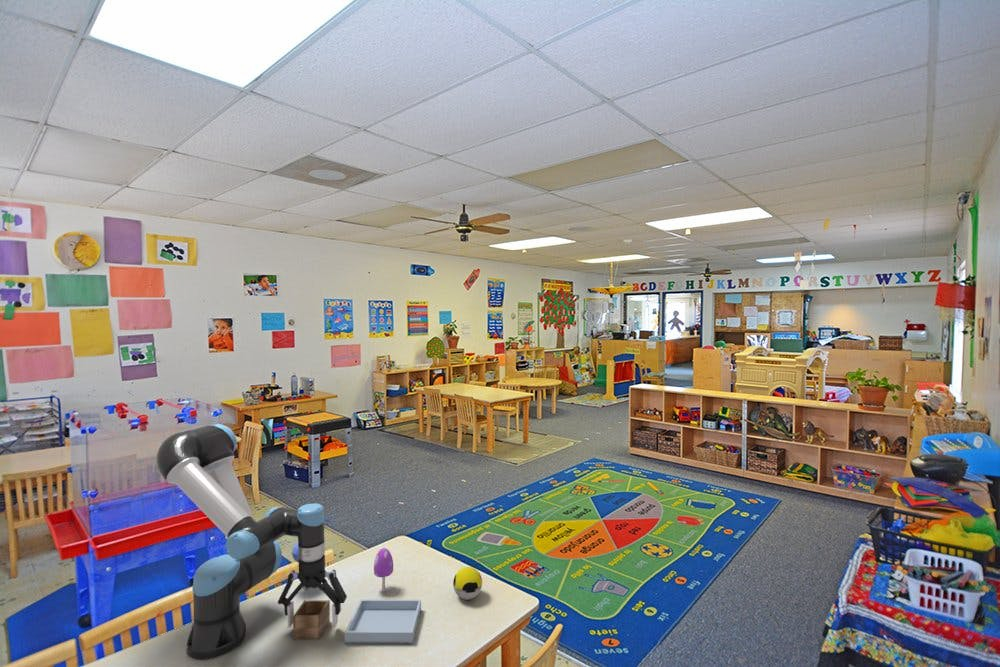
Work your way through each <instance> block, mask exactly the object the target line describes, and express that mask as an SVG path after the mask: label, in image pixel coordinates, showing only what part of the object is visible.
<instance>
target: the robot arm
mask: <svg viewBox="0 0 1000 667" xmlns="http://www.w3.org/2000/svg"><path fill="white" fill-rule="evenodd" d="M237 444H238V441H237V437H236V434H235V433H234V431H233V430H232V429H231V428H230V427H228V426H226V425H224V424H220V423H218V424H217V423H216V424H208V425H205V426H201V427H197V428H193V429H189V430H185V431H179V432H175V433H174V434H172V435H171V434H170V436H168V437H167V438H166V439H165V440H164V441H163V442H162V443H161V445H160V446H159V448H158V450H157V454H156V465H157V469H158V472H159V473H160V476H162V477H163V479H164V480H165V481H166V482H167V483H168V484H170V485H171V484H172V485H173V484H175V485H176V486H177V487H178V488H179V489H180V491H181V492H183V493H184V495H185V496H187V498H189V499H190V501H192V503H193V504H195V506H196V507H197V508H198V509H199V510H201V512H202V513H203V514H204V515H206V517H207V518H208V519H209V520H210V521H211V522H212V523H213V524H214V526H216V527H217V528H218V530H220V532H222V533H223V535H225V536H226V538H227V539H226V542H225V547H226V552H227V553H226V554H222V555H219V556H218V557H217V556H215V557H213V558H210V559H208V560H207V561H205V562H204V563H202V564H200V566H199V567H198V568H197V569H196V571H195V572H194V575H193V580H192V581H193V583H192V595H193V601H192V602H193V603H192V604H193V623H192V626H191V630H190V632H189V635H188V638H187V640H186V654H187V656H188V657H189V658H191V659H194V660H197V661H199V660H201V661H203V660H212V659H215V658H219V657H222V656H224V655H226V654H228V653H230V652H232V651H233V650H234V649H236V648H238V647H239V646H240V645H241V644H242V643H243V642H244V640H245V639H246V636H247V623H246V622H245V620H244V619H245V618H244V617H243V614H242V612H241V609H240V608H241V607H240V603H241V602H240V600H241V599H240V598H241V596H242V595H244V594H245V593H247V592H248V591H250V590H251V589H252V588H254V587H256V586H257V585H259V584H260V583H261V582H263V581H265V580H268V579H269V578H270V577H271V576H272V575H273V574H274V573H276V572H277V571H278V569H279V568H280V565H281V563H282V558H283V552H282V551H283V550H282V547H281V545H280V543H279V541H278V540H279V539H281V538H282V537H284V536H289V537H297V541H298V557H299V563H298V571H296V570H295V569H293V570H291V571H290V573H289V574H288V575H287V581H286V584H285V586H284V588H283V590H282V592H281V594H280V596H279V599H278V601H277V604H278V605H283V606H284V608H283V609H284V616H287V617H286V618H287V628H291V627H293V616H294V615H295V612H294V611H295V610H294V609H295V607H294V605H295V604H294V603H295V602H294V600H293V599H294V598H295V597H296V596H297V594H298V593H299V592H300V591H301V590H302V588H304V587H306V588H308V589H310V588H311V589H316V588H318V589H319V590H320V591H322V592H323V593H324V594H325V595H326V596H327V598H328V600H330V601H331V602H332V603H333V604H332V606H331V610H332V611H331V614H332V615H331V618H332V619H331V620H332V621H331V623H332V624H331V625H332V628H335V627H336V625H337V624H338V622H339V615H340V613H341V610H342V604H344V603H345V602H346V599H347V598H348V596H347V594H346V591H345V590H344V588H343V586H342V584H341V583H340V580H339V578H338V576H337V571H336V569H332V570H331V571H326V555H325V554H326V549H325V548H326V547H325V545H326V544H325V541H326V540H325V521H326V519H325V511H324V506H323V505H322V504H320V503H315V502H314V503H306V504H304V505H301V506H300V507H299V508H298V509H295V508H290V507H285V506H284V507H283V506H274V507H271V508H270V509H269V510H268V511H267V512H266V513H264V516H263V518H261V519H259V520H258V521H256V520H255V518H254V516H253V514H252V511H251V509H250V506H249V503H248V501H247V498H246V496H245V493H244V491H243V489H242V486H241V483H240V481H239V478H238V476H237V472H235V468H234V466H233V461H234V459H235V454H234V452H235V451H236V449H237ZM326 578H327V579H328V580H327V579H326ZM296 579H298V581H299V582H300V583H299V584H298V585H297V586H296V588H295V589H294V590H293V591H292V592H291V594H290V595H289V596H288V593H289V591H290V589H291V587H292V585H293V583H294V581H295V580H296ZM328 581H329V583H330V584H329V583H328ZM303 586H304V587H303ZM287 596H288V597H287Z"/></svg>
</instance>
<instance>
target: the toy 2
mask: <svg viewBox="0 0 1000 667" xmlns="http://www.w3.org/2000/svg"><path fill="white" fill-rule="evenodd" d="M452 582H453V584H452V585H453V586H452V587H453V590H454V593H455V595H457V596H458V597H459V598H460V599H462V600H466V601H468V600H473V599H474V598H476V597H477V596H478V595H480V594H479V593H480V592H481V590H482V588H483V579H482V575H481V574H480V572H479V571H478V570H477V569H476V568H475V567H472V566H465V567H462V568H460V569H459V570H458V571H457V572H456V573H455V575H454V577H453V581H452Z"/></svg>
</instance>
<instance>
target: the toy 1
mask: <svg viewBox="0 0 1000 667" xmlns="http://www.w3.org/2000/svg"><path fill="white" fill-rule="evenodd" d="M393 559H394V558H393V556H392V553H391V552H390V549H388V548H386V547H382V548H381V549H380V550H379V551H377V554H376V556H375V559H374V563H373V573H374V576H375V577H377V578H382V584H381V585H382V586H381V591H382V592H385V591H386V577H390V576H391V575H393V572H394V560H393Z"/></svg>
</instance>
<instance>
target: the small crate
mask: <svg viewBox="0 0 1000 667" xmlns="http://www.w3.org/2000/svg"><path fill="white" fill-rule="evenodd" d="M330 601H331V600H330V599H327V600H326V599H325V600H324V599H304V600H303V601H302V602H301V604H300V605H299V607H298V609H297V610H296V611H295V612H294V616H293V624H292V631H293V633H292V634H293V640H321V639H322V637H323V635H324V633H325V632H326V630H327V628H328V626H329V624H330V622H331V621H330V620H331V618H330V617H331V616H330V614H331V613H330V612H331V611H330V610H331V609H330V607H331V606H330V603H331V602H330Z"/></svg>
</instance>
